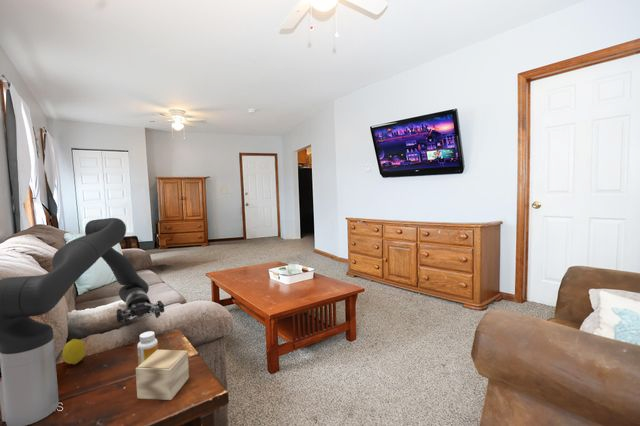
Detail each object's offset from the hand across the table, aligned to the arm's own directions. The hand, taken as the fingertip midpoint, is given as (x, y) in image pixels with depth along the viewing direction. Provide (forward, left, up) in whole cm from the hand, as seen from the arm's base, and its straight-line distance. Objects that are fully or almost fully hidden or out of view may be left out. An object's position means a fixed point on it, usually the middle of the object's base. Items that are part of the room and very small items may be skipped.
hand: (143, 318), depth 101 cm
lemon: (-16, -10, -11) cm, 22 cm away
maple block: (+18, -19, -11) cm, 28 cm away
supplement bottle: (+7, -9, -11) cm, 16 cm away
